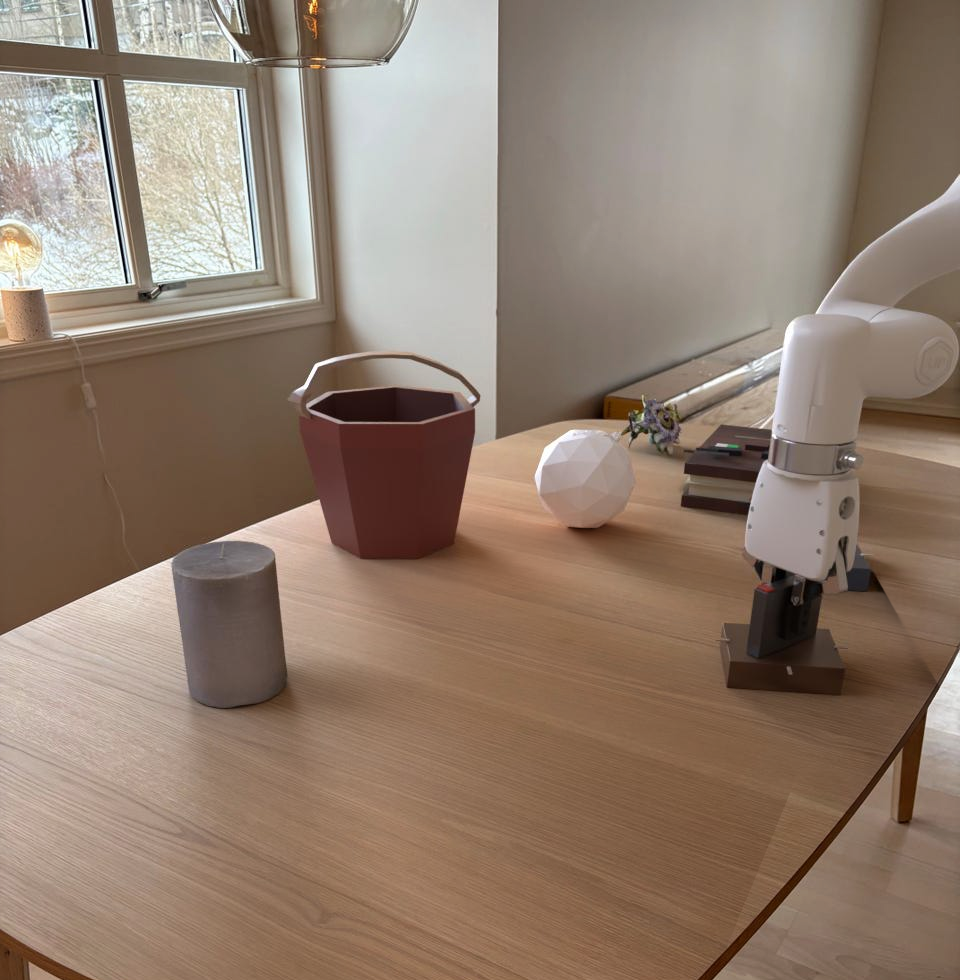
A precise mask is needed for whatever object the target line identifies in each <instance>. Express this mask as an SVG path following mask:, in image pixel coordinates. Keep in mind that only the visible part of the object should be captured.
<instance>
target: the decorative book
mask: <svg viewBox="0 0 960 980" xmlns="http://www.w3.org/2000/svg"><path fill="white" fill-rule="evenodd" d="M771 433H772V429H770V428H769V429H768V428H759V427H750V426H740V425H729V424H720V425H719V426H718V427H717V428H716V429H715V430H714V431H713V432H712V433H711V434H710V436H709V437H707V439H706V440H705V441H704V442H703V443H702V444H701V445H700V446H699V447H696V448H695V449H683V451H682V453H686V454H691V456H689V457H688V459H687V460H686V461H685V462H684V467H683V474H684V475H688V477H687V478H686V480H684V484H686V483H687V484H689V485H688V488H687V489H686V490H685V491H684V492H683V493H682V494H681V499H680V507H684V508H692V509H699V510H707V511H713V512H720V513H728V512H729V514H735V513H737V515H742V514H743V516H748V514H749V509H750V504H751V500H752V496H753V492H754V488H755V485H756V481H757V478H758V475H759V472H760V470H761V467H762V465H763V462H764V461H766V460H768V455H769V448H770V440H771Z"/></svg>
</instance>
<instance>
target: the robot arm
mask: <svg viewBox="0 0 960 980" xmlns="http://www.w3.org/2000/svg"><path fill="white" fill-rule="evenodd" d="M959 270H960V173H959V174H958V175H957V177H956V178H955V179H954V181H953V182H952V184H951V185H950V186H949V187H948V188H947V190H946V191H945V192H944V193H943V194H942V195H940V196H939V197H938V198H937V199H935V200H934V201H932V202H930V203H928V204H927V205H925V206H924V207H922V208H920V209H918V210H917V211H915V212H914V213H912V214H911V215H910V216H908V217H907V218H905V219H903V220H902V221H901V222H899V223H898V224H897V225H895V226H893V227H892V228H891V229H890V230H888V231H887V232H885V233H884V234H882V235H881V236H879V237H878V238H877V239H876V240H874V241H873V242H871V243H870V244H868V246H866V247H865V248H864V249H863V250H862V251H861V252H859V254H857V255H856V257H854V259H853V260H852V261H851V262H850V263H849V264H848V266H847V267H846V268H845V269H844V271H843V272H842V273H841V275H840V276H839V277H838V278H837V280H836V282H835V283H834V285H833V286H832V287H831V288H830V290H829V291H828V293H827V294H826V296H825V297H824V299H823V300H822V301H821V302H820V305H819V307H818V308H817V310H816V311H815V313H809V314H804V315H800V316H797V317H795V318H793V320H791V321H790V323H788V326H787V327H786V330H785V334H784V338H783V345H782V353H781V360H780V366H779V367H780V368H779V374H778V375H779V376H778V381H777V382H778V383H777V388H776V395H775V396H776V397H775V405H774V412H773V418H772V426H771V430H772V433H771V440H770V448H769V455H768V460H766V461H764V462H763V465H762V467H761V470H760V472H759V475H758V478H757V481H756V485H755V488H754V492H753V496H752V500H751V504H750V509H749V514H748V515H747V521H746V526H745V535H744V547H743V548H742V551H741V556H742V558H743V559H744V560H745V561H746V562H747V563H748V564H749V565H750V566H751V567H752V568H754V571H755V572H756V574H757V576H758V578H759V579H760V585H763V584H765V585H767V584H770V583H773V582H776V581H779V580H782V579H784V578H787V577H789V572H790V573H793V574H795V578H794V584H793V590H792V595H791V602H788V603H786V604H785V608H784V615H783V622H782V628H781V635H780V636H781V638H782V639H784V640H786V641H787V640H790V639H792V638H795V637H798V636H800V635H803V634H804V633H805V631H806V629H807V627H808V622H809V616H810V610H811V604H812V601H813V600H816V599H817V598H818V597H820V596H821V595H822V596H835V595H836V596H837V595H840V594H842V593H845V592H847V591H849V590H848V583H847V577H846V572H849V571H850V570H851V569H852V566H853V563H854V557H855V551H856V544H857V543H858V537H859V536H858V535H859V523H860V499H861V498H860V496H861V495H860V483H859V475H858V474H857V473H854V472H852V470H859V469H860V468H861V467H862V466H863V464H864V458H865V457H864V455H862V454H859V453H857V451H856V448H857V437H858V432H859V426H860V419H861V416H862V415H861V414H862V409H863V402H864V400H865V399H867V398H883V399H898V400H909V399H916V398H921V397H923V396H926V395H929V394H931V393H933V392H935V391H936V390H938V389H939V388H940V387H941V386H943V384H945V383H946V382H947V381H948V380H949V378H950V377H951V376H952V375H953V372H954V371H955V369H956V366H957V363H958V360H959V355H960V345H959V344H960V343H959V340H958V337H957V334H956V332H955V331H954V329H953V328H952V327H951V326H950V325H949V324H948V323H947V322H945V321H944V319H943V320H942V319H941V318H939V317H938V316H935V315H932V314H930V313H929V314H928V313H925V312H921V311H914V310H908V309H903V308H899V307H895V305H897V303H898V302H900V301H901V300H902V299H903V298H905V297H906V296H907V295H908V294H910V293H911V292H912V291H914V290H916V289H917V288H919V287H920V286H922V285H924V284H925V283H928V282H930V281H932V280H934V279H937V278H939V277H942V276H944V275H947V274H950V273H953V272H956V271H959ZM857 545H858V544H857ZM826 577H827V580H825V579H826Z"/></svg>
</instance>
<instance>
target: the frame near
mask: <svg viewBox="0 0 960 980" xmlns="http://www.w3.org/2000/svg"><path fill="white" fill-rule="evenodd" d="M794 578H795V575H793V576H790V577H787V578H784V579H782V580H779V581H776V582H773V583H770V584H767V585H765V584H763V585H761V584H760V585H757V587H756V588H754V592H753V599H752V607H751V613H750V620H749V624H750V627H749V634H748V642H747V649H746V653H748V654H750V655H752V656H754V657H756V658H760V657H763V656H765V655H768V654H770V653H773V652H775V651H778V650H780V649H783V648H785V647H788V646H790V645H793V644H795V643H798V642H800V641H803V640H805V639H808V638H810V637H813V636H815V635H816V630H817V628H818V623H819V618H820V612H821V607H822V606H821V605H822V600H823V595H821V596H820V597H818V598H817V599H816V600H813V601H812V604H811V610H810V616H809V622H808V627H807V629H806V631H805V633H804V634H803V635H800V636H798V637H795V638H792V639H790V640H787V641H786V640H784V639H782V638H781V636H780V635H781V628H782V622H783V615H784V608H785V604H786V603H788V602H791V595H792V590H793V584H794Z"/></svg>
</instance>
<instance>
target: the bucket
mask: <svg viewBox="0 0 960 980" xmlns="http://www.w3.org/2000/svg"><path fill="white" fill-rule="evenodd" d="M378 359H398V360H411V361H413V362H417V363H420V364H422V365H426V366H429V367H431V368H433V369H436V370H439V371H441V372H443V373H445V374H446V375H448V376H451V377H453V378H455V379H457V380H459V382H461V384H462V385H463V386H464V387H466V388H467V389H468V391H469V392H470V394H471V396H470V397H468V398H466V397H465V396H464V395H463V394H462V393H461V392H460V391H452V390H444V389H443V390H442V389H432V388H426V387H425V388H424V387H415V386H405V385H396V384H395V385H385V386H375V387H373V386H372V387H365V388H354V389H344V390H342V389H341V390H332V391H326V392H324V393H323V394H321V395H319V396H318V397H315V398H313V400H311V401H308V400H309V398H311V396H312V395H313V394H314V393H315V390H316V388H317V387H318V384H319V382H320V381H321V379H322V377H323V375H324V373H325V371H328V370H331V369H334V368H338V367H341V366H345V365H349V364H352V363H357V362H362V361H370V360H378ZM286 401H287V402H288V404H289V405H290V406H291V408H292V409H293V410H294V411H295V413H296V414H297V415H298V421H299V422H298V423H299V432H300V437H301V440H302V444H303V446H304V450H305V454H306V457H307V461H308V464H309V467H310V472H311V475H312V479H313V481H314V486H315V489H316V493H317V496H318V499H319V503H320V507H321V510H322V514H323V518H324V521H325V525H326V528H327V531H328V535H329V538H330V542H331V544H333V545H335V546H336V547H338V548H340V549H342V550H343V551H346V552H347V553H349V554H351V555H353V556H355V557H357V558H358V559H362V560H363V559H364V560H365V559H366V560H367V559H368V560H418V559H420V558H422V557H425V556H427V555H429V554H432V553H434V552H437V551H439V550H441V549H444V548H446V547H448V546H449V547H450V546H451V545H454V543H455V541H456V540H455V539H456V534H457V529H458V525H459V519H460V513H461V508H462V503H463V497H464V493H465V489H466V488H465V487H466V482H467V477H468V472H469V467H470V461H471V457H472V452H473V451H472V450H473V447H474V440H475V435H476V408H475V407H476V406H477V404H479V403H480V401H481V394H480V393H479V391H478V390H477V389H476V388H475V387H474V386H473V384H471V383H470V381H468V379H466V377H464V375H463V374H461V372H460V371H458V370H456V369H454V368H451V367H449V366H447V365H445V364H443V363H441V362H440V361H437V360H435V359H432V358H429V357H427V356H424V355H421V354H417V353H415V352H412V351H401V350H373V351H372V350H371V351H370V350H369V351H363V352H355V353H350V354H343V355H339V356H336V357H331V358H328V359H325V360H322V361H320V362H317V363H315V364H314V366H313V368H312V370H311V372H310V374H309V375H308V378H307V379H306V381H305V383H304V385H303V386H301V387H298V388H296V389H295V390H293V391H292V392H291V394H289V396H288V397H287V399H286ZM307 401H308V402H307Z"/></svg>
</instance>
